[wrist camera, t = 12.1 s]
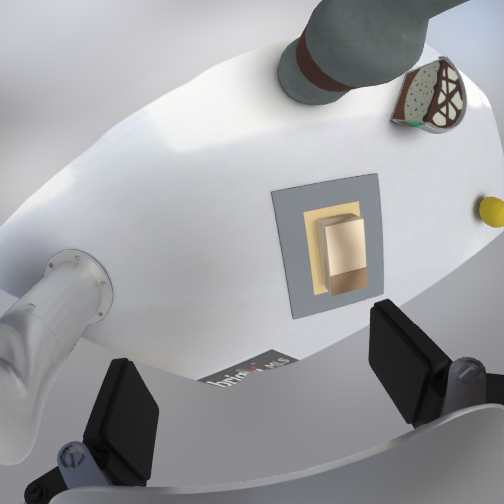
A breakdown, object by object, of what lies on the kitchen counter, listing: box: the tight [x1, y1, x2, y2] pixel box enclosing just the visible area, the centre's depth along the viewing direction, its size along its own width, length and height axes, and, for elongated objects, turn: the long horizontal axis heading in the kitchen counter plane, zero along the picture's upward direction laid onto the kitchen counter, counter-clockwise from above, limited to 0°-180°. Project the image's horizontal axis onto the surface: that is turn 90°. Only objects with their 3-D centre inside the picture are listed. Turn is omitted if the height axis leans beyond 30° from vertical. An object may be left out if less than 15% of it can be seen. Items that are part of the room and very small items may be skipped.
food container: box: [390, 56, 467, 134], centre depth 31 cm, size 12×6×10 cm, turn 158°
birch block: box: [316, 212, 367, 296], centre depth 40 cm, size 6×10×4 cm, turn 11°
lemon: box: [479, 197, 504, 227], centre depth 39 cm, size 6×6×8 cm
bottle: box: [278, 0, 469, 105], centre depth 20 cm, size 9×9×30 cm
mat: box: [271, 174, 384, 319], centre depth 42 cm, size 16×20×1 cm
